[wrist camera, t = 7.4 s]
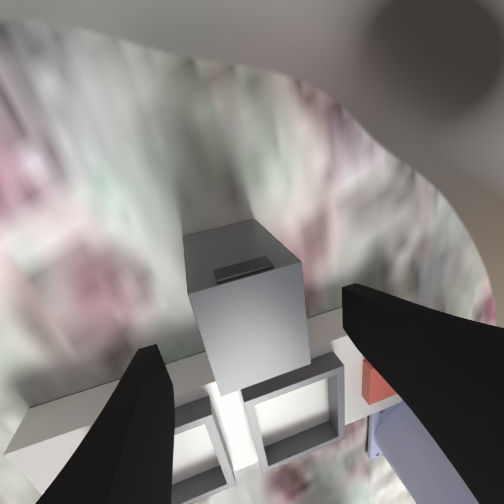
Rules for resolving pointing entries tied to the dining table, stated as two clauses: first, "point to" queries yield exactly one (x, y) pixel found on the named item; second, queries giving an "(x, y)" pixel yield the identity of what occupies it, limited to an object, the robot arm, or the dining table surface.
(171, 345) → the dining table surface
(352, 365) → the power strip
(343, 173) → the dining table surface
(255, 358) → the block
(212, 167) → the dining table surface
